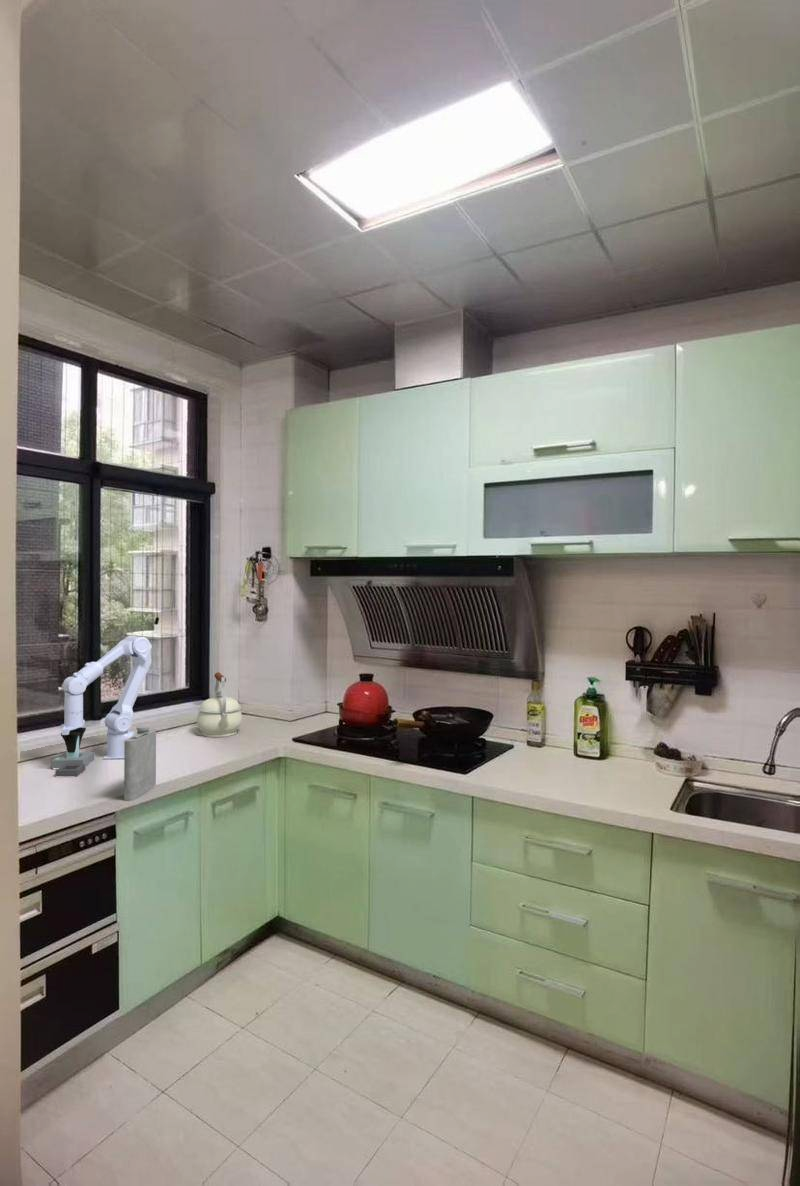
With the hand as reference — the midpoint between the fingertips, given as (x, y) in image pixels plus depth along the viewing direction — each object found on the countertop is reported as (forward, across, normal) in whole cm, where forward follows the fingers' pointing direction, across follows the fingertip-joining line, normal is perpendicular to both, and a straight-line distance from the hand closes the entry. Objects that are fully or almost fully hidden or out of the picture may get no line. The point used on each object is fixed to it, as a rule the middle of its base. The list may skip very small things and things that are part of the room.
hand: (73, 750), depth 216 cm
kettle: (+5, -41, +42) cm, 59 cm away
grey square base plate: (+5, +10, +3) cm, 11 cm away
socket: (+5, 0, 0) cm, 5 cm away
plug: (+3, 0, 0) cm, 3 cm away
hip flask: (+5, +30, +32) cm, 44 cm away
